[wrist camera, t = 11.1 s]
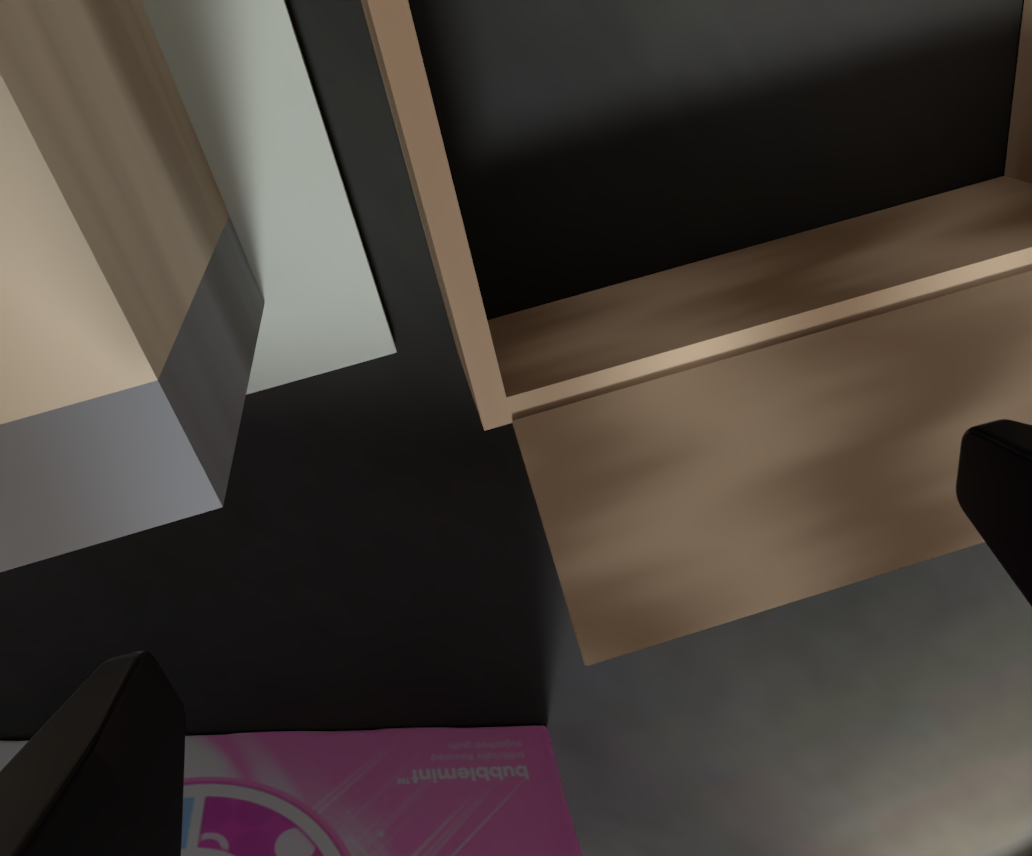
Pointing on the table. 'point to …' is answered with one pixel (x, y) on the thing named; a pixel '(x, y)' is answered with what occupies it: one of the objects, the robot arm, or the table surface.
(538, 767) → the gum box
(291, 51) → the mat
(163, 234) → the box
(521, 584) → the table surface
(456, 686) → the table surface
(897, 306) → the carton
